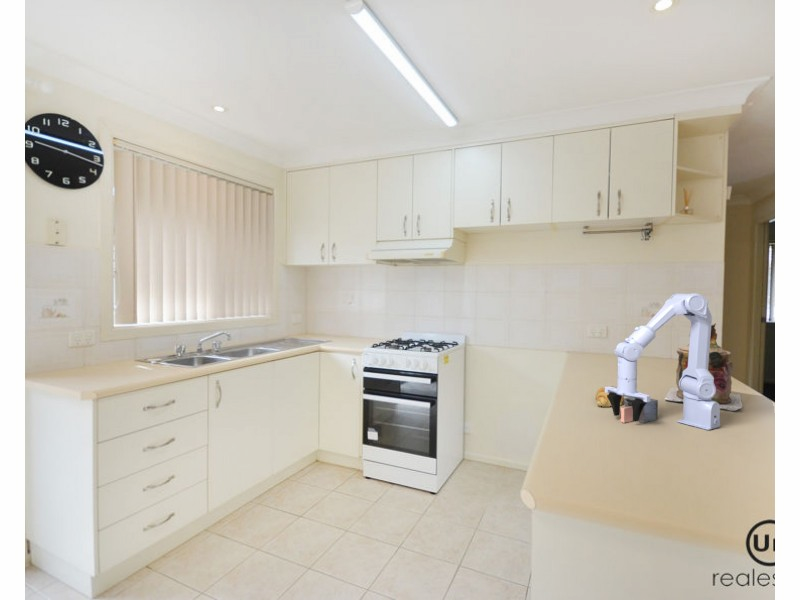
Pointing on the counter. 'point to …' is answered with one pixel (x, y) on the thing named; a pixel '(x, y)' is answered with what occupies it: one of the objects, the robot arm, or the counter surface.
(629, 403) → the grey cube
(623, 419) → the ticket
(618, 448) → the counter surface
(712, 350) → the cookie jar
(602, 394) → the croissant
